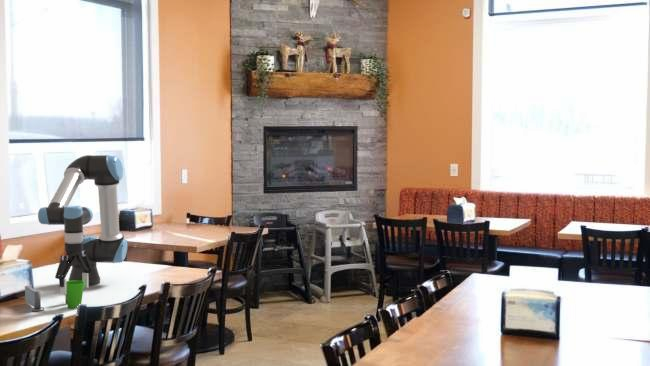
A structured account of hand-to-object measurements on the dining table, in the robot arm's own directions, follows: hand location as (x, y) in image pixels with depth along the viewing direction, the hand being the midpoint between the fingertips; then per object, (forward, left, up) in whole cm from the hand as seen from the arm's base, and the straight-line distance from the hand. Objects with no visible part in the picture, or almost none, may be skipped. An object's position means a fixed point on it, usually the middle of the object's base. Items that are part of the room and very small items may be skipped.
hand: (74, 291), depth 332 cm
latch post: (-5, -7, -7) cm, 11 cm away
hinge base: (+11, -10, -7) cm, 17 cm away
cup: (0, 0, -7) cm, 7 cm away
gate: (+8, -16, -6) cm, 19 cm away
